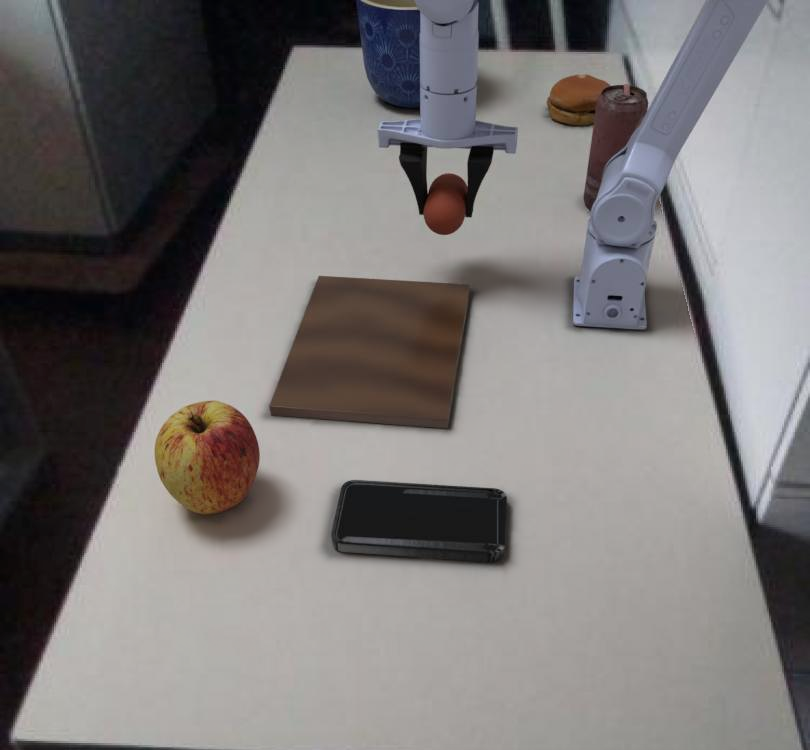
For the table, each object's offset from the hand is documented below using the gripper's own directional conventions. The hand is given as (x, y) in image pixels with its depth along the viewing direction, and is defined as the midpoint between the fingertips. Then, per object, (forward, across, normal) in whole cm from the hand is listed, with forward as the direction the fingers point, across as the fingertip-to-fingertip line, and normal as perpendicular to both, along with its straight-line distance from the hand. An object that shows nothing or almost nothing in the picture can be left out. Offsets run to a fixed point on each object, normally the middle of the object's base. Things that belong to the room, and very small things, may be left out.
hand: (446, 211), depth 96 cm
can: (+9, -19, -20) cm, 29 cm away
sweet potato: (+1, 0, 0) cm, 1 cm away
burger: (+9, -15, -48) cm, 51 cm away
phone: (+8, -3, +40) cm, 41 cm away
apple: (+9, +16, +39) cm, 43 cm away
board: (+8, +6, +15) cm, 18 cm away
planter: (+9, +11, -52) cm, 54 cm away
